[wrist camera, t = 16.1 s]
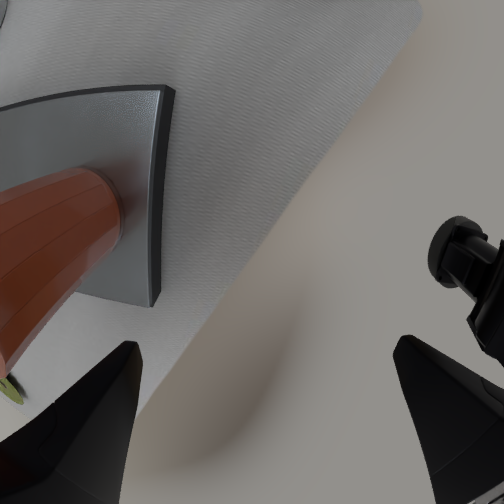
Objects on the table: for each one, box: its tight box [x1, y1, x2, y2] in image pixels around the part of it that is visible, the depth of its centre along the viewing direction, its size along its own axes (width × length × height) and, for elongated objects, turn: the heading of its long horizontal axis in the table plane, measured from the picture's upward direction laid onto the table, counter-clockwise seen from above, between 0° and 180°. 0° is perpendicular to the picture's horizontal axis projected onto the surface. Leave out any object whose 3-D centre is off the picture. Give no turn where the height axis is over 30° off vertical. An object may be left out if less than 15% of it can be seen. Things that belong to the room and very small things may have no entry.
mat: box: [0, 378, 24, 405], centre depth 31 cm, size 11×11×2 cm
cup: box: [0, 167, 120, 379], centre depth 11 cm, size 7×7×12 cm
